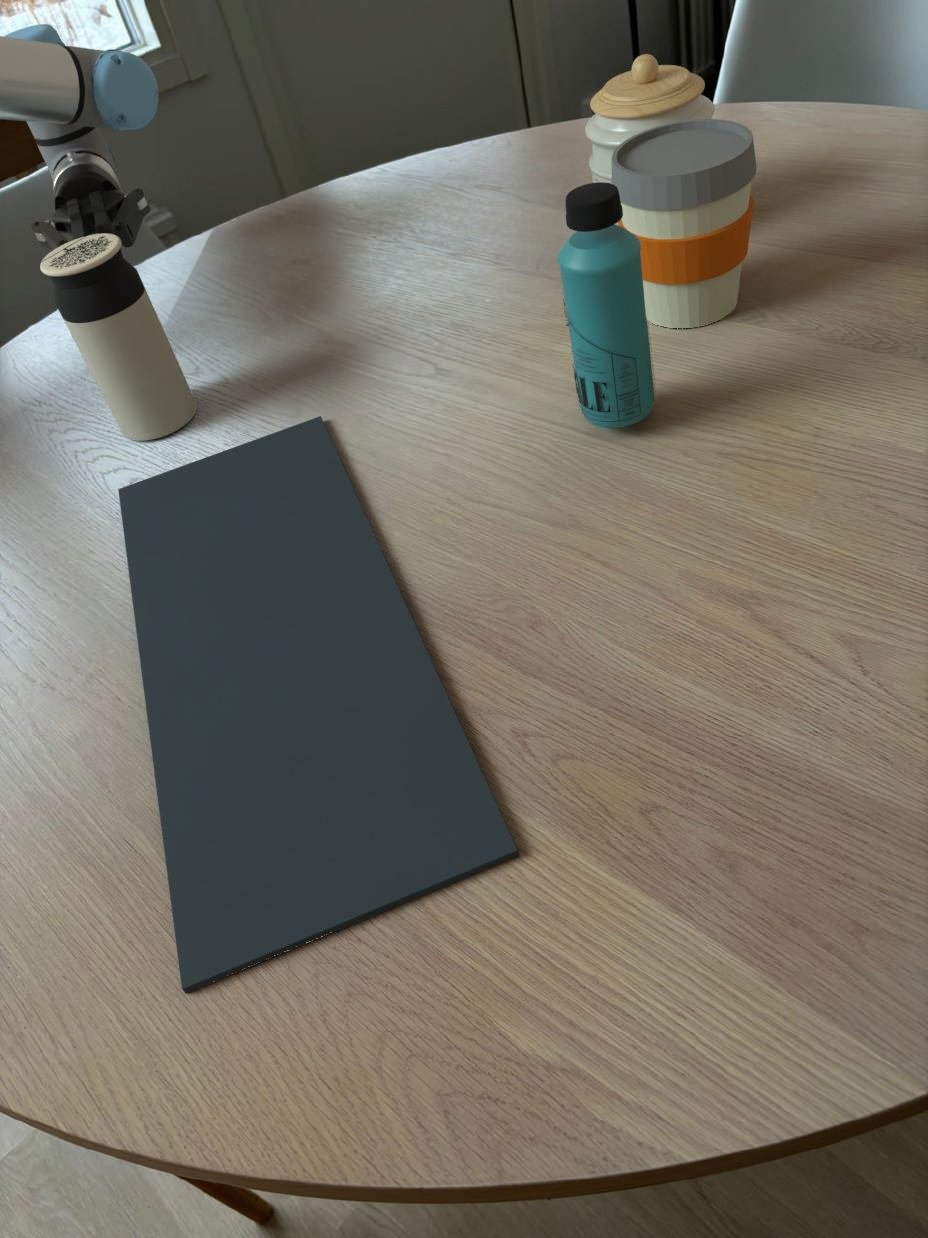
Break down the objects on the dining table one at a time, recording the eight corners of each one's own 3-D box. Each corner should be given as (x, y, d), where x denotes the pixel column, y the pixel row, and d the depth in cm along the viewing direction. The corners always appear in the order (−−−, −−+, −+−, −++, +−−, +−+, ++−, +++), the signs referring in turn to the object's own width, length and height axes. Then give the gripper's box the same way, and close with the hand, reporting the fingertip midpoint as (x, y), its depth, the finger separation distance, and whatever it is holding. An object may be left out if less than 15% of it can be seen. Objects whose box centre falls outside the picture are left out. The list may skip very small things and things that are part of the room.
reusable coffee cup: (728, 345, 91) (723, 179, 81) (602, 332, 98) (583, 175, 87) (776, 278, 98) (777, 117, 88) (655, 269, 104) (644, 117, 94)
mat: (185, 994, 56) (181, 989, 56) (120, 493, 94) (117, 488, 94) (519, 855, 58) (518, 850, 58) (322, 420, 96) (320, 415, 96)
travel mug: (212, 411, 102) (138, 239, 90) (146, 452, 99) (60, 280, 87) (173, 390, 107) (97, 225, 95) (109, 428, 104) (22, 262, 92)
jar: (594, 216, 116) (574, 49, 104) (709, 194, 114) (702, 21, 102) (601, 267, 107) (580, 90, 95) (726, 245, 105) (721, 61, 93)
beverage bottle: (667, 403, 87) (649, 168, 73) (644, 449, 83) (620, 209, 69) (595, 398, 90) (565, 171, 76) (569, 442, 86) (533, 210, 72)
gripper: (17, 182, 114) (16, 255, 97) (128, 145, 115) (146, 211, 98) (49, 245, 119) (53, 326, 102) (155, 210, 120) (177, 283, 103)
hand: (99, 270), depth 100 cm, fingers closed
